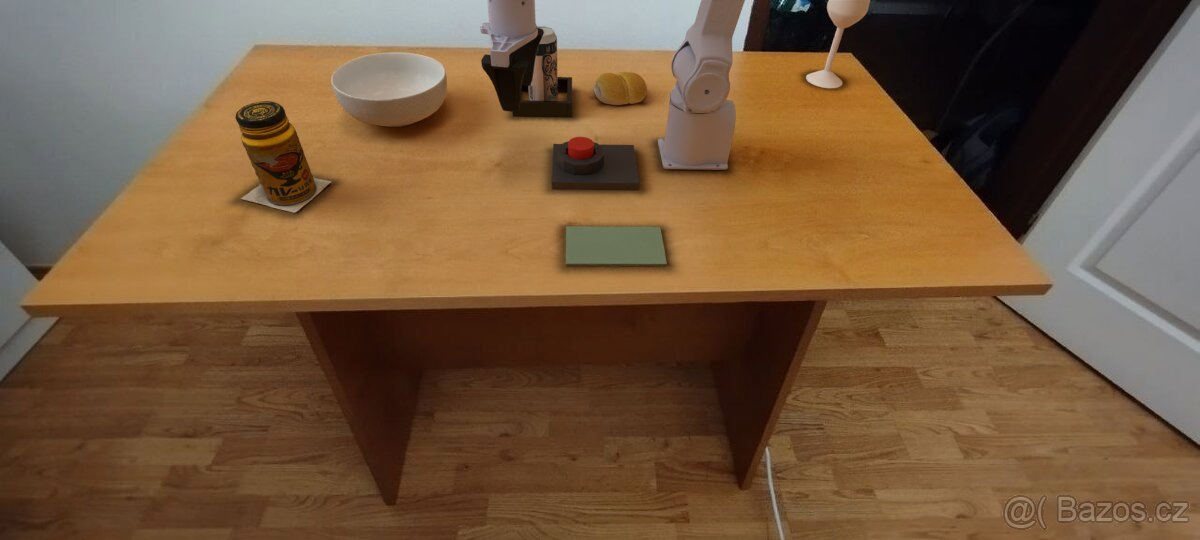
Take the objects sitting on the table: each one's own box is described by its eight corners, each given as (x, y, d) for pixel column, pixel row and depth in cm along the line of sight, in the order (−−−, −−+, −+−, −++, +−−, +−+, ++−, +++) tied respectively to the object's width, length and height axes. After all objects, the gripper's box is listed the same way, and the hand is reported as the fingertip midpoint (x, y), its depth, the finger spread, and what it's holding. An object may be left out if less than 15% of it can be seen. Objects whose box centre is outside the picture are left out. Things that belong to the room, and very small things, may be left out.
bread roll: (653, 103, 99) (655, 80, 96) (604, 109, 96) (605, 87, 94) (635, 82, 104) (636, 60, 102) (588, 88, 102) (588, 66, 99)
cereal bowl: (415, 152, 85) (406, 107, 80) (319, 130, 88) (305, 86, 83) (470, 101, 97) (465, 60, 92) (384, 84, 100) (375, 43, 95)
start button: (593, 147, 83) (593, 136, 81) (593, 161, 80) (594, 150, 79) (568, 147, 82) (568, 136, 81) (568, 160, 80) (567, 149, 79)
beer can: (553, 111, 95) (552, 38, 87) (525, 107, 96) (521, 35, 88) (560, 98, 99) (560, 27, 90) (534, 94, 99) (530, 23, 91)
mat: (660, 229, 74) (660, 226, 73) (666, 266, 69) (667, 263, 68) (566, 228, 73) (566, 226, 73) (565, 266, 68) (565, 263, 68)
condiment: (296, 213, 73) (261, 129, 65) (240, 199, 75) (200, 115, 67) (332, 182, 78) (304, 100, 70) (279, 170, 80) (246, 89, 72)
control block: (633, 151, 87) (634, 133, 85) (638, 190, 80) (640, 171, 78) (553, 150, 86) (553, 132, 84) (551, 189, 79) (551, 170, 77)
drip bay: (572, 90, 101) (572, 76, 99) (572, 117, 94) (572, 103, 92) (516, 89, 100) (516, 75, 99) (512, 116, 93) (511, 102, 92)
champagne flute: (847, 89, 106) (898, -58, 89) (810, 87, 105) (855, -60, 89) (836, 73, 110) (883, -69, 94) (801, 71, 110) (842, -71, 94)
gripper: (493, -31, 74) (501, 71, 84) (459, 8, 64) (473, 119, 73) (547, -26, 74) (549, 75, 83) (522, 13, 63) (528, 125, 73)
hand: (517, 96), depth 78 cm, fingers open, 7 cm apart
